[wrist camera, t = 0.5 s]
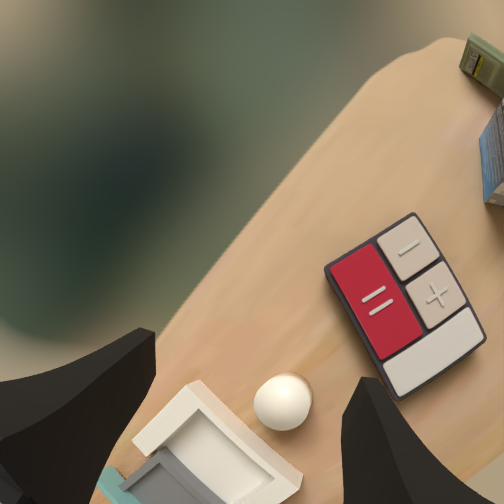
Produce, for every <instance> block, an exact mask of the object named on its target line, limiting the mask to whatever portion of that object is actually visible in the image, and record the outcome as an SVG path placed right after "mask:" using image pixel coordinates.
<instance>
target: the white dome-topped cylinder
mask: <svg viewBox="0 0 504 504" xmlns="http://www.w3.org/2000/svg"><path fill="white" fill-rule="evenodd" d="M312 399H313V392H312V388H311V386H310V384H309V382H308V381H307V380H306V379H305V378H304V377H302V376H301V375H299V374H296V373H293V372H283V373H279V374H277V375H275V376H273V377H272V378H271V379H269V380H268V381H267V382H266V383H265V384H264V385H263V386H262V387H261V388H260V389H259V390H258V391H257V393H256V395H255V398H254V410H255V413H256V415H257V417H258V419H259V420H260V421H261V422H262V423H263V424H264V425H265V426H267V427H269V428H271V429H274V430H279V431H286V430H291V429H293V428H296V427H297V426H299V425H300V424H301V423H302V422H303V421H304V420H305V419H306V417H307V415H308V412H309V409H310V406H311V403H312Z"/></svg>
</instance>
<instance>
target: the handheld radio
mask: <svg viewBox="0 0 504 504" xmlns="http://www.w3.org/2000/svg"><path fill="white" fill-rule="evenodd" d="M459 67H460V68H461V69H462V70H463V71H465V72H466V73H468V74H469V75H471V76H472V77H473V78H475V79H476V80H478V81H479V82H480V83H482V84H483V85H484V86H486V87H487V88H488V89H490V90H491V91H492V92H494V93H495V94H496V95H498V96H499V97H500V98H501V99H502V98H503V96H504V53H502V52H501V51H499V50H498V49H497V48H495V47H494V46H492V45H491V44H489V43H488V42H486V41H485V40H483V39H482V38H480V37H479V36H477V35H475V34H474V33H471V34H470V36H469V37H468V40H467V43H466V47H465V50H464V53H463V56H462V59H461V62H460V65H459Z"/></svg>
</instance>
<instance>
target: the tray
mask: <svg viewBox="0 0 504 504" xmlns="http://www.w3.org/2000/svg"><path fill="white" fill-rule="evenodd" d="M96 486H97V487H98V488H99V489H100V490H101V492H102V493H103V494H104V495H105V496H106V497H107V498H108V499H109V501H110V502H111V503H112V504H227V503H225V502H224V501H223V500H222V499H221V498H219V497H218V496H217V495H216V494H215V493H214V492H213V491H211V490H210V489H209V488H208V487H207V486H206V485H205V484H204V483H203V482H202V481H200V480H199V479H198V478H197V477H196V476H195V475H194V474H193V473H192V472H191V471H190V470H189V469H188V468H187V467H186V466H185V465H184V464H183V463H182V462H181V461H180V460H179V459H178V458H177V457H176V456H175V455H174V454H173V453H172V452H171V451H170V450H169V449H168V448H167V447H165V448H163V449H162V450H160V451H159V452H157V453H156V454H155V455H154V456H153V457H152V458H150V459H149V460H148V461H147V462H146V463H145V464H144V465H142V466H141V467H140V468H139V469H138V470H137V471H135V472H134V473H133V474H132V475H131V476H130V477H128V478H127V479H126V480H124V479H123V477H122V476H121V475H120V474H119V473H118V472H117V471H116V470H115V468H114V467H113V466H112V465H110V466H108V467H106V468H104V469H103V470H102V473H101V475H100V477H99V480H98V482H97V484H96Z"/></svg>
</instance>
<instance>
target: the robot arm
mask: <svg viewBox="0 0 504 504" xmlns="http://www.w3.org/2000/svg"><path fill="white" fill-rule="evenodd" d="M155 376H156V358H155V332H153V331H150V330H146V329H143V328H138V329H136V330H134V331H132V332H130V333H128V334H126V335H125V336H123V337H121V338H119V339H117V340H116V341H114V342H112V343H110V344H108V345H106V346H104V347H103V348H101V349H99V350H97V351H95V352H93V353H91V354H89V355H87V356H84V357H82V358H80V359H78V360H76V361H74V362H71V363H69V364H67V365H64V366H61V367H59V368H56V369H53V370H50V371H47V372H44V373H41V374H37V375H33V376H29V377H24V378H20V379H15V380H9V381H3V382H0V504H89V502H90V500H91V497H92V495H93V492H94V489H95V487H96V484H97V482H98V480H99V477H100V475H101V473H102V470H103V468H104V466H105V464H106V462H107V460H108V458H109V455H110V453H111V451H112V449H113V447H114V446H115V444H116V442H117V440H118V439H119V437H120V436H121V434H122V433H123V431H124V430H125V428H126V427H127V425H128V423H129V422H130V420H131V419H132V417H133V416H134V414H135V413H136V411H137V410H138V408H139V406H140V405H141V403H142V402H143V400H144V399H145V397H146V395H147V393H148V391H149V389H150V387H151V384H152V382H153V380H154V378H155ZM341 451H342V467H343V486H344V503H343V504H495V503H493V502H491V501H489V500H487V499H486V498H484V497H482V496H481V495H479V494H478V493H477V492H475V491H473V490H472V489H471V488H469V487H468V486H467V485H465V484H464V483H463V482H462V481H460V480H459V479H458V478H457V477H456V476H455V475H453V474H452V473H451V472H450V471H449V470H448V469H447V468H446V467H445V466H444V465H442V464H441V463H440V461H439V460H438V459H437V458H436V457H435V456H434V455H433V454H432V453H431V452H430V451H429V450H428V449H427V447H426V446H425V445H424V444H423V443H422V441H421V440H420V439H419V438H418V436H417V435H416V434H415V432H414V431H413V430H412V428H411V427H410V426H409V424H408V423H407V422H406V420H405V419H404V417H403V416H402V414H401V413H400V411H399V410H398V408H397V407H396V405H395V404H394V402H393V401H392V399H391V398H390V396H389V395H388V393H387V392H386V390H385V389H384V387H383V386H382V384H381V383H380V381H379V380H378V379H376V378H369V377H361V379H360V381H359V383H358V385H357V387H356V389H355V391H354V393H353V395H352V397H351V400H350V402H349V404H348V406H347V408H346V410H345V411H344V413H343V415H342V429H341Z"/></svg>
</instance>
